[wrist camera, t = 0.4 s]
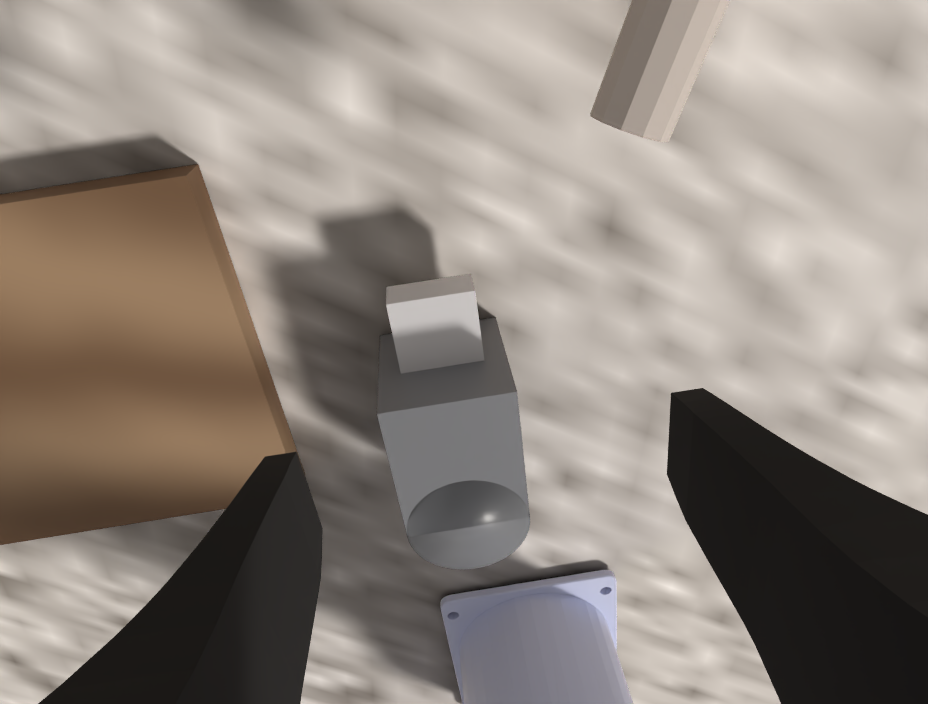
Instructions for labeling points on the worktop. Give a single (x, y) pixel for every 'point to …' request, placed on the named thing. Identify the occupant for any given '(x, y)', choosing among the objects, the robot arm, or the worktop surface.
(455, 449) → the plug
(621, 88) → the pipe connector
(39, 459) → the board
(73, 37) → the worktop surface
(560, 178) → the worktop surface
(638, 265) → the worktop surface
